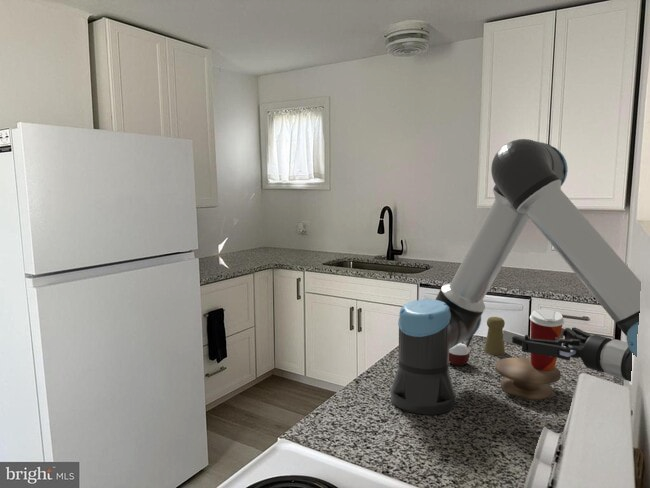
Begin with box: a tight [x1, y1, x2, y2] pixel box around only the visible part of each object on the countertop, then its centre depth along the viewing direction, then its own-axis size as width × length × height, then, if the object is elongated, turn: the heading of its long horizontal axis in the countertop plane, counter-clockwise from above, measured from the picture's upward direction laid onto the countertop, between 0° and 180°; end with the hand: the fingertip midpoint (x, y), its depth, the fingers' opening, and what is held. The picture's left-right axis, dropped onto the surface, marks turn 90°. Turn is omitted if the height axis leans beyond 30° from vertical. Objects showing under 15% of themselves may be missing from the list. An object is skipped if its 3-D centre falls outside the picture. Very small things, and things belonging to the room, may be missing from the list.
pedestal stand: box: [494, 357, 562, 401], centre depth 116 cm, size 15×15×6 cm
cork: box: [484, 316, 506, 356], centre depth 142 cm, size 6×6×11 cm
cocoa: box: [449, 335, 474, 367], centre depth 133 cm, size 10×6×12 cm, turn 57°
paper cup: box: [529, 308, 565, 371], centre depth 114 cm, size 8×8×14 cm
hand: (521, 330), depth 116 cm, fingers open, 13 cm apart
